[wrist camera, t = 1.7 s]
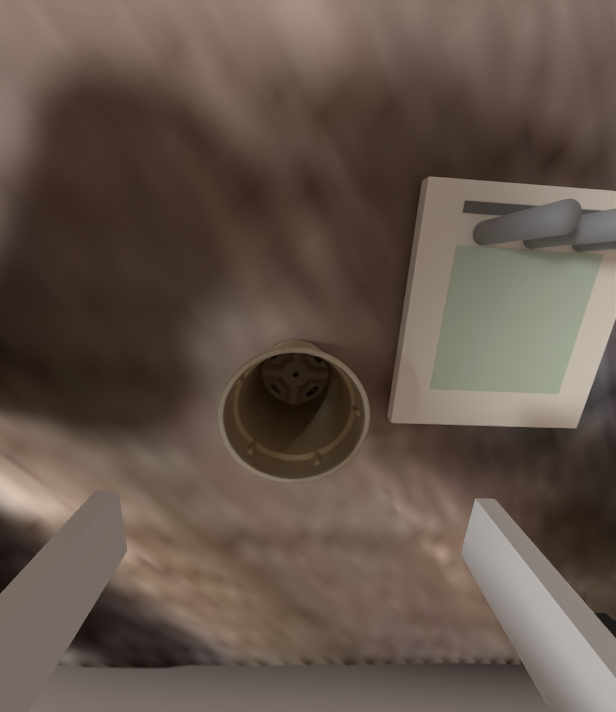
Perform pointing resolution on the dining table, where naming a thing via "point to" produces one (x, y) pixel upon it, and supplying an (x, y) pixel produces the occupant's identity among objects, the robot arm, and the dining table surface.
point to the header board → (505, 304)
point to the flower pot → (293, 414)
